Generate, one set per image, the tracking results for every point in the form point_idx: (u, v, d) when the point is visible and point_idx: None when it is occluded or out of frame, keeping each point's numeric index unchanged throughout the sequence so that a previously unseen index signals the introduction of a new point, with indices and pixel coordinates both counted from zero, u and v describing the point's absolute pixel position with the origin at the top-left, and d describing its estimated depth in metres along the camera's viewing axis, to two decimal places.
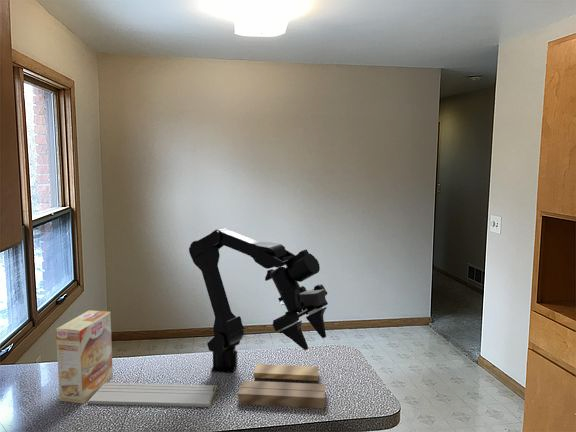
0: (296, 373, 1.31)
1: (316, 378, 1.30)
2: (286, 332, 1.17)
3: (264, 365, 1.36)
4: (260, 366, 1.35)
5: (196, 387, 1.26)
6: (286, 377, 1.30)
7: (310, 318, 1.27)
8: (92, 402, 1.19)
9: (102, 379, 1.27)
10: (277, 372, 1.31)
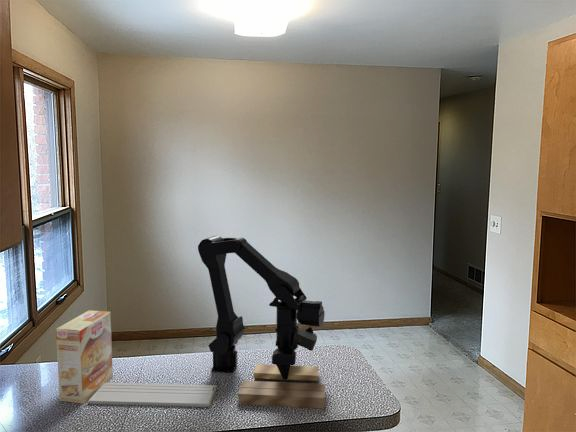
0: (296, 373, 1.31)
1: (316, 378, 1.29)
2: None
3: (264, 365, 1.35)
4: (260, 366, 1.35)
5: (196, 387, 1.26)
6: None
7: None
8: (92, 402, 1.19)
9: (102, 379, 1.27)
10: (277, 372, 1.31)
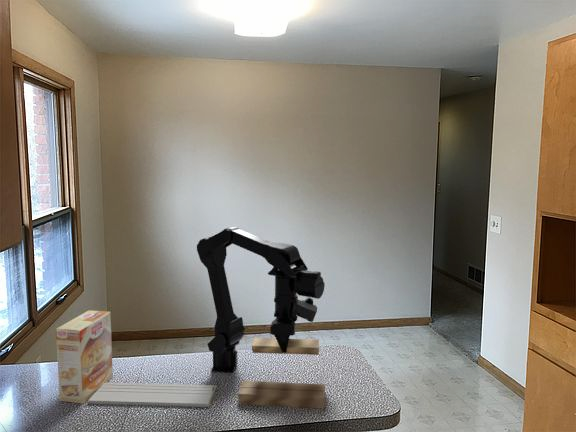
0: (296, 345, 1.25)
1: (317, 350, 1.25)
2: None
3: (262, 339, 1.30)
4: (258, 339, 1.30)
5: (195, 387, 1.26)
6: None
7: None
8: (91, 402, 1.19)
9: (102, 379, 1.27)
10: (276, 345, 1.26)
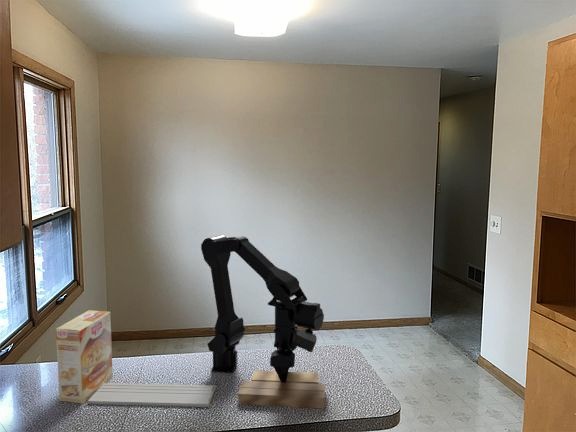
0: (295, 380, 1.27)
1: None
2: None
3: (262, 372, 1.31)
4: (258, 372, 1.31)
5: (195, 387, 1.26)
6: None
7: None
8: (91, 402, 1.19)
9: (102, 379, 1.27)
10: (276, 379, 1.27)
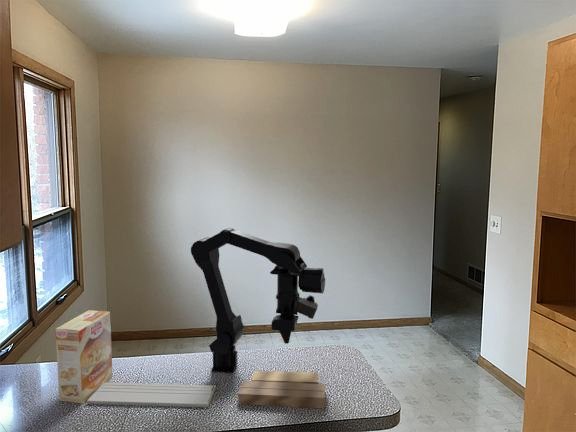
0: (295, 380, 1.27)
1: None
2: None
3: (262, 372, 1.31)
4: (258, 372, 1.31)
5: (195, 387, 1.26)
6: None
7: None
8: (91, 402, 1.19)
9: (102, 378, 1.27)
10: (276, 379, 1.27)
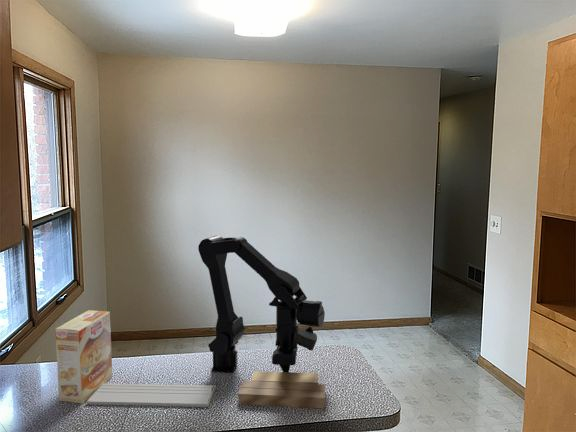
0: (295, 380, 1.26)
1: None
2: None
3: (262, 372, 1.31)
4: (258, 373, 1.30)
5: (195, 387, 1.26)
6: None
7: None
8: (90, 403, 1.19)
9: (102, 379, 1.27)
10: (275, 380, 1.26)
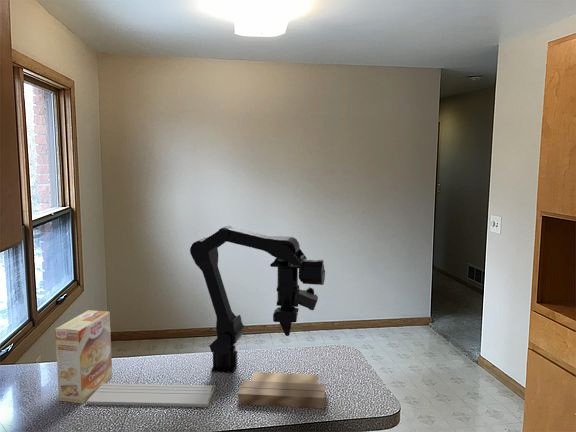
0: (295, 382, 1.25)
1: None
2: None
3: (262, 373, 1.30)
4: (258, 374, 1.30)
5: (194, 387, 1.26)
6: None
7: None
8: (90, 403, 1.18)
9: (101, 378, 1.27)
10: (275, 381, 1.26)
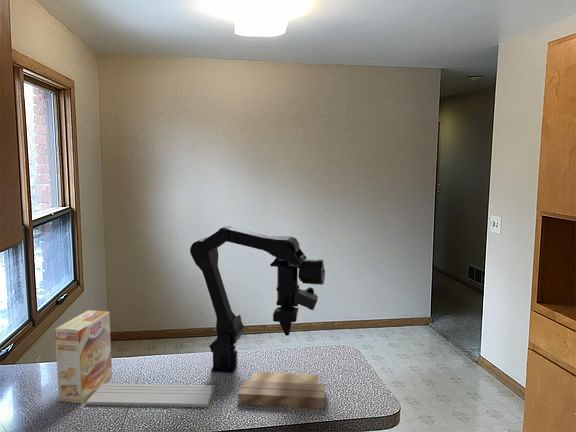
0: (295, 382, 1.25)
1: None
2: None
3: (262, 373, 1.30)
4: (258, 374, 1.30)
5: (194, 387, 1.26)
6: None
7: None
8: (90, 403, 1.18)
9: (101, 378, 1.27)
10: (275, 381, 1.26)
